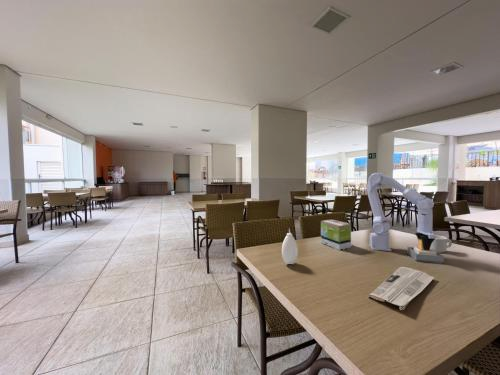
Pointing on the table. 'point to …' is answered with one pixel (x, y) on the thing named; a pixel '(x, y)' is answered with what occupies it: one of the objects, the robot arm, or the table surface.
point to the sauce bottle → (289, 249)
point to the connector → (421, 245)
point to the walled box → (425, 255)
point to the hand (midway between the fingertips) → (424, 248)
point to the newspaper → (402, 286)
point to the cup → (440, 243)
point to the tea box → (336, 234)
